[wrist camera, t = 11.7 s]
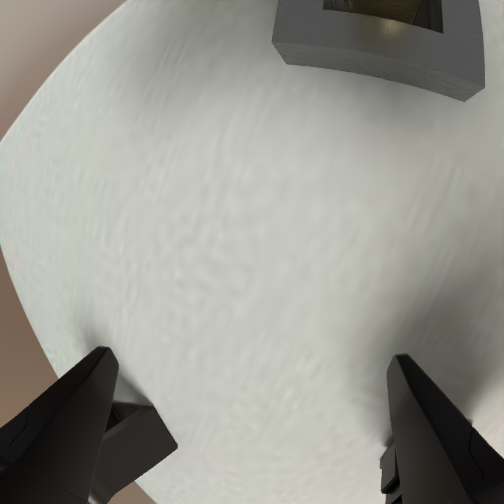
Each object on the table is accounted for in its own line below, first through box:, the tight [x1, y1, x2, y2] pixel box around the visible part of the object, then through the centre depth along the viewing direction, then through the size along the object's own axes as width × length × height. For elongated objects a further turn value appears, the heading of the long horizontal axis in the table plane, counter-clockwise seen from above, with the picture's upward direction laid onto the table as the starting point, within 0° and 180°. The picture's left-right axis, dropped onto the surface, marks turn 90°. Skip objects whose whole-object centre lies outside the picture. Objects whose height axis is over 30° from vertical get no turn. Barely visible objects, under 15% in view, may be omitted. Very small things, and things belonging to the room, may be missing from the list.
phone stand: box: [87, 402, 178, 504], centre depth 24 cm, size 9×6×12 cm, turn 109°
